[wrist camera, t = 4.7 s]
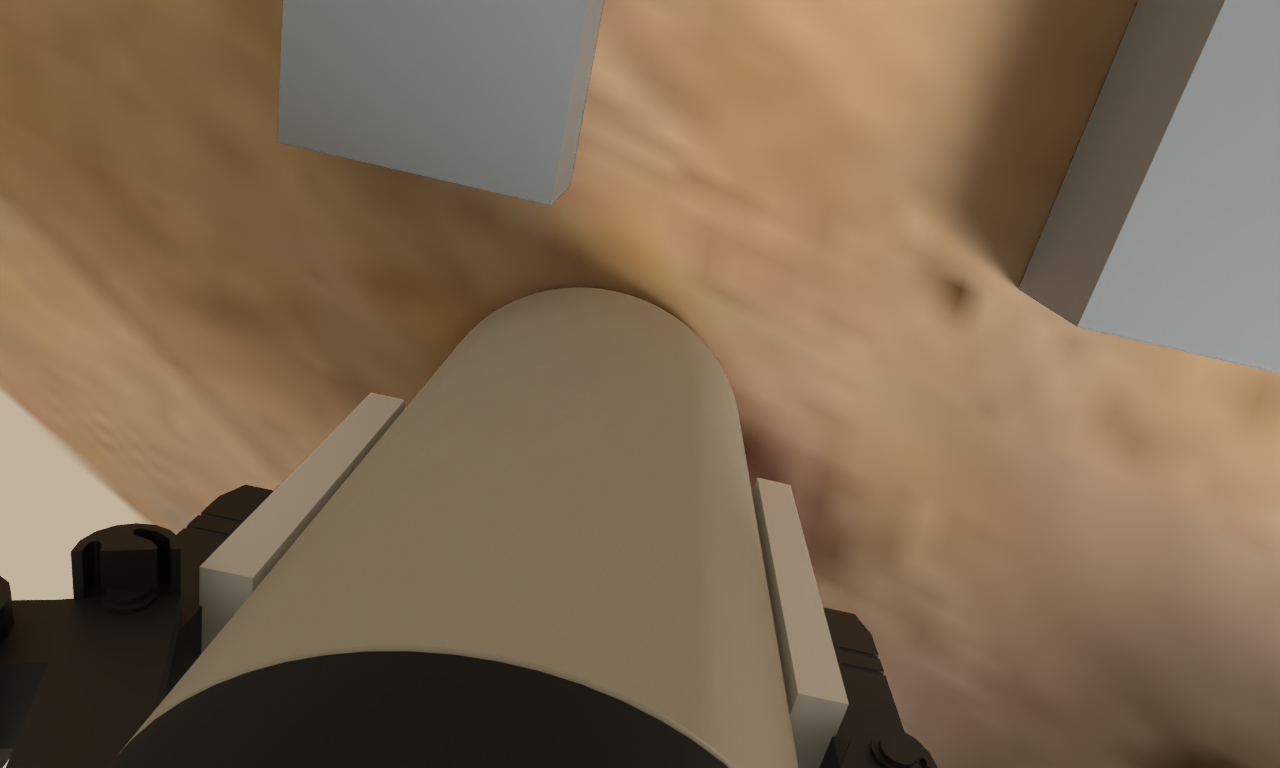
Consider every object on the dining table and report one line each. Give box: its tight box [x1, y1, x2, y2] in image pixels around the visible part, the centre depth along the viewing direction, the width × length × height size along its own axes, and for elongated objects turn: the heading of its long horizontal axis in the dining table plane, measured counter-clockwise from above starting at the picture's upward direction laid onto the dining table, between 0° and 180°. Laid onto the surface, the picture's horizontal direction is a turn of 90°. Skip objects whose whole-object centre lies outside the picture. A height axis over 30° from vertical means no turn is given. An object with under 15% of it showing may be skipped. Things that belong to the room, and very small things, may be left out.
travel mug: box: [107, 287, 799, 768], centre depth 12 cm, size 8×8×18 cm
